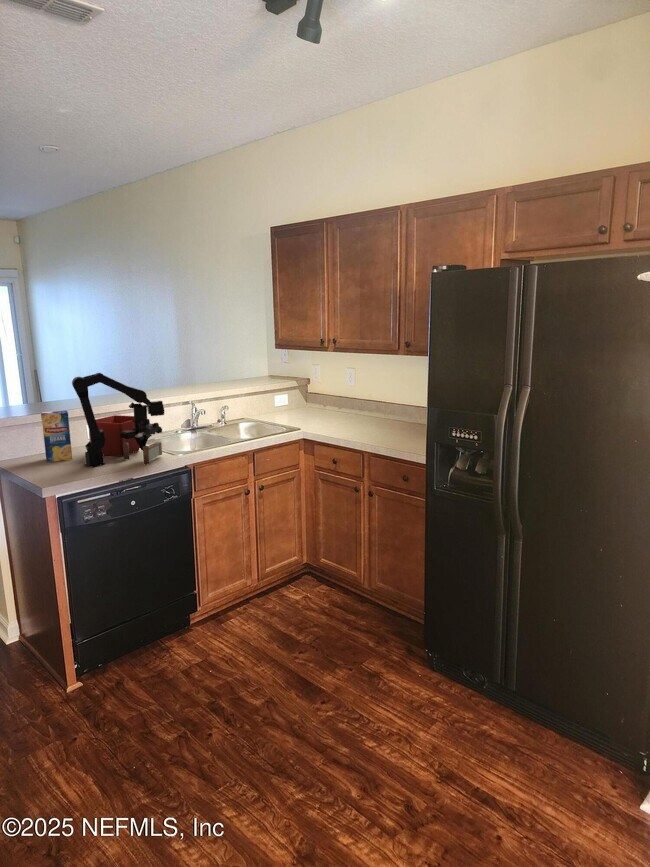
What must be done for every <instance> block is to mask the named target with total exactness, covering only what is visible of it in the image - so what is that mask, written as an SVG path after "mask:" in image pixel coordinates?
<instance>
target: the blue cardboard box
mask: <svg viewBox="0 0 650 867" xmlns="http://www.w3.org/2000/svg"><path fill="white" fill-rule="evenodd" d="M40 417H41V424H42V432H43V433H42V434H43V443H44V452H45V459H46V460H45V462H46V463H52V461H55V462H60V461H59V460H64V461H70V460H69V459H72V460H73V452H72V451H73V450H72V443H71V441H72V440H71V433H70V432H71V430H70V420H69V412H68V410H56V411H42V412H40Z"/></svg>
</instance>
